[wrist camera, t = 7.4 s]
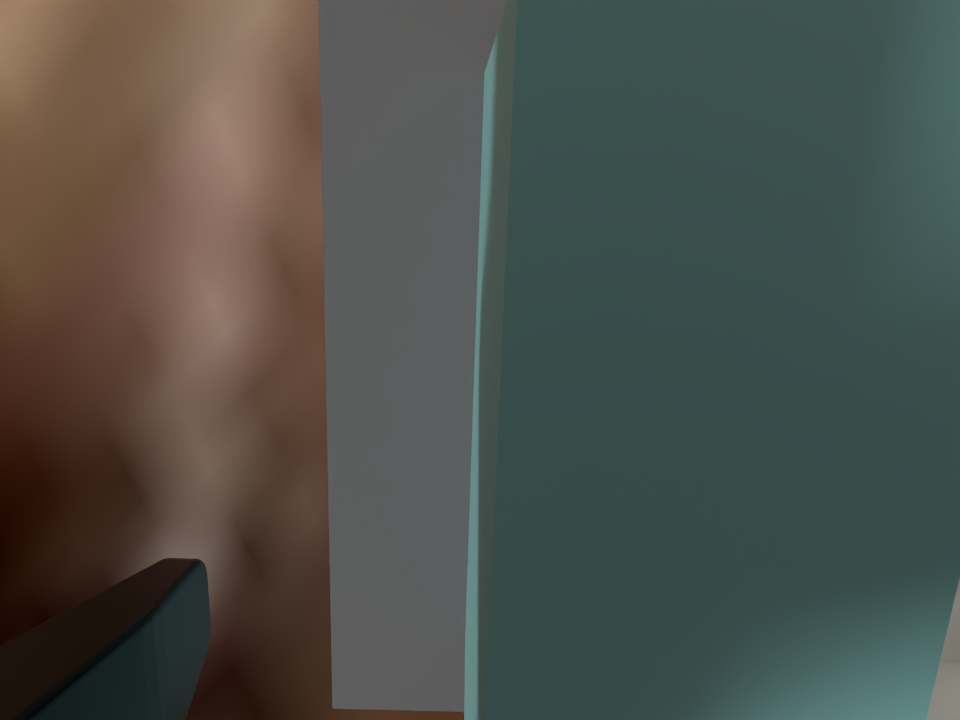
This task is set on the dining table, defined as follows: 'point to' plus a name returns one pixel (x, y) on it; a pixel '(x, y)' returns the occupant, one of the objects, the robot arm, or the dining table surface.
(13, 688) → the robot arm
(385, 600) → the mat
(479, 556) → the teal flat block
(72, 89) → the dining table surface
